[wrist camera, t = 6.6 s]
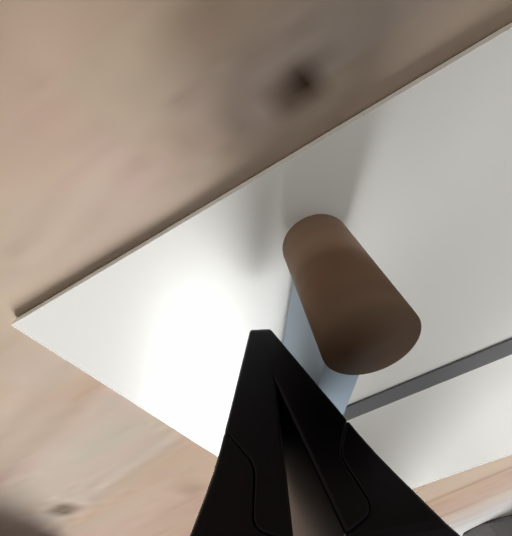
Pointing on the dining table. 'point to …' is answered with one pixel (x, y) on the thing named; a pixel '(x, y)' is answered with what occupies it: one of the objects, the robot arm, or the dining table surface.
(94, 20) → the dining table surface
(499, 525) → the coffeepot
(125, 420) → the dining table surface
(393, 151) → the card
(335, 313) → the hinged fence panel
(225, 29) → the dining table surface
